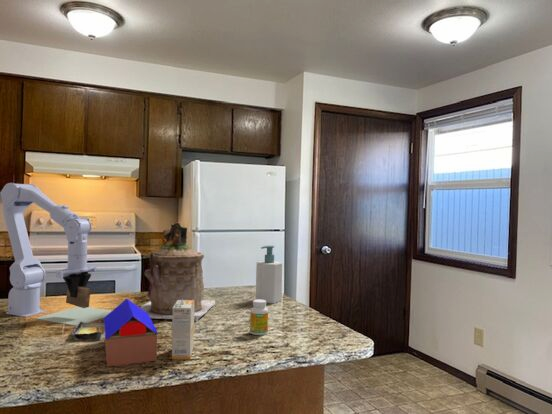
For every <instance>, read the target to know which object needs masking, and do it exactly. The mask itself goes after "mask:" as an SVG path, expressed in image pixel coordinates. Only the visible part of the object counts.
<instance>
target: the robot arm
mask: <svg viewBox="0 0 552 414" xmlns="http://www.w3.org/2000/svg"><path fill="white" fill-rule="evenodd" d="M0 197H1V201H2V213H3V216H4V217H3V218H4V221H5V225H6V229H7V233H8V236H9V242H10V246H11V248H12V249H11V250H12V253H13V254H12V255H13V258H14V262H13V263H12V264H11V265H10V267H9V273H10V274H9V281H10V282H9V283H10V284H11V286H12V288H11V289H10V290H9V292H8V298H7V299H8V303H7V304H8V305H7V308H8V311H6V312H5V314H6V315H13V316H18V317H23V318H25V317H26V318H27V317H30V316H34V315H38V314H42V313H46V311H47V310H45V309H41V305H40V304H41V303H40V302H41V286H42V285H43V284H42V283H43V282H44V281H45V279H46V274H47V273H46V270H45V268H44V267H43V266H42V264H41V260H39V259H38V258H36V257H35V256H34V255H33V254H34V253H33V250H32V246H31V242H30V238H29V234H28V230H27V226H26V221H25V216H24V211H25V210H27V208H29V207H30V206H31V205H32V204H35V205H36V206H38V207H40V208H41V209H42V210H44V211H46V212H48V213H49V217H50V219H51V220H52V221H54V222H55V223H56V224H58V225H59V226H60V227H62V228H63V230H64V234H65V235H66V240H67V268H64V269H61V270H56V272H55V277H56V278H60V279H61V278H63V280H64V282H65V284H66V286H67V287H68V289H69V292H70V296H71V297H74V298H75V297H77V293H78V285H79V286H82V287H86V288H87V284H88V283H89V280H90V279H91V277H92V273H93V272H97V268H98V267H97V265H88V234H90V233H91V231H92V223H91V222H90V220H89V219H88V218H86V217H80V216H79V214H78V213H74V212H73V211H72V210H71V209H69V208H70V207H69V206H68V205H65V204H64V205H63V204H56V203H55V202H54V201H53V200H52V199H50V198H49V197H48V196H47V195H46V194H45V193H43V192H42V191H41V188H40V187H38V186H36V185H35V184H33V183H14V182H9V183H6V184H5V185H3V188H2V190H0ZM91 272H92V273H91Z"/></svg>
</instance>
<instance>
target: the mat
mask: <svg viewBox="0 0 552 414" xmlns="http://www.w3.org/2000/svg"><path fill="white" fill-rule="evenodd" d="M112 311H113V310H109V309H108V310H107V309H102V308H96V307H90V306H89V307H87V308H81V307H78V306H74V307H72V308H68V309H64V310H59V311H57V312H53V313H49V314H46V315H42V316H38V317H36V318H35V319H36V320H40V321H45V322H51V323H57V324H63V325H70V326H74V327H77V325H78V324H79V322H80V321H82V322H85V323H86V322H87V323H91V322H95V321H98V320H100V319H101V320H102V319H104V317H106V316H107V315H108V314H109V313H110V312H112Z"/></svg>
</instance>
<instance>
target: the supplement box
mask: <svg viewBox="0 0 552 414" xmlns="http://www.w3.org/2000/svg"><path fill="white" fill-rule="evenodd" d="M171 320H172V327H171V359H172V360H191V358H192V355H193V351H194V343H195V340H194V338H195V336H194V335H195V333H194V331H195V321H194V300H177V302H176V303H175V305H174V307H173V318H172V319H171Z"/></svg>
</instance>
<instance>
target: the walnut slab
mask: <svg viewBox="0 0 552 414" xmlns="http://www.w3.org/2000/svg"><path fill="white" fill-rule="evenodd" d="M65 298H66V299H65V303H66V304H68V305H72V306H74V307H81V308H87V307H90V298H91V288H88V287H87V286H86V287H82V286H79V285H78V293H77V297H75V298H74V297H71V296H70V292H69V289H68V286H67V289H66V297H65Z"/></svg>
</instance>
